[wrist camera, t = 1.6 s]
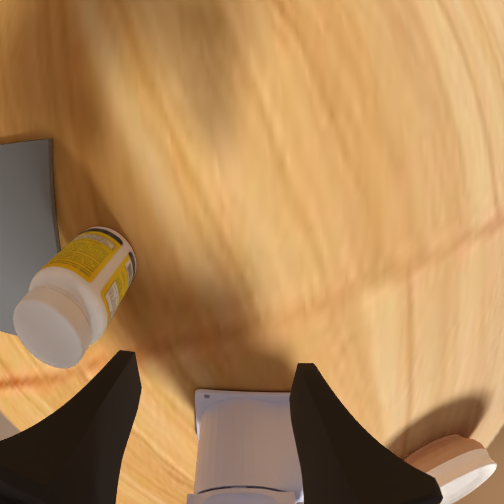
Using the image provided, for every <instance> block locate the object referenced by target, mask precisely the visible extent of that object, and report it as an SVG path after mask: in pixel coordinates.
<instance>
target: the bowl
mask: <svg viewBox="0 0 504 504" xmlns="http://www.w3.org/2000/svg"><path fill="white" fill-rule="evenodd" d="M403 461H405V462H407V463H408V464H410V465H411V466H413V467H415V468H417V469H419V470H421V471H423V472H425V473H427V474H429V475H431V476H433V477H435V479H436V481H437V483H438V485H439V487H440V490H441V493H442V496H443V500H442V502H441V503H440V504H452V503H454V502H456V501H458V500H460V499H461V498H463V497H464V496H466V495H467V494H469V493H470V492H472V491H473V490H475V489H476V488H477V487H479V486H480V485H481V484H482V483H483V482H484V481H486V480H487V479H488V478H489V477H490V476H491V475H492V473H493V472H494V471H495V469H496V466H497V463H495V462H494V461H492V460H491V459H490V457H489V454H488V452H487V450H486V449H485V448H484V447H483V446H482V444H481V443H479V442H477V441H475V440H473V439H469V438H464V437H461V436H460V435H458V434H453V435H448V436H445V437H442V438H440V439H437V440H435V441H433V442H431V443H429V444H427V445H425V446H423V447H421V448H420V449H418V450H417V451H415V452H414V453H412V454H411V455H409V456H408V457H407V458H406V459H405V460H403Z"/></svg>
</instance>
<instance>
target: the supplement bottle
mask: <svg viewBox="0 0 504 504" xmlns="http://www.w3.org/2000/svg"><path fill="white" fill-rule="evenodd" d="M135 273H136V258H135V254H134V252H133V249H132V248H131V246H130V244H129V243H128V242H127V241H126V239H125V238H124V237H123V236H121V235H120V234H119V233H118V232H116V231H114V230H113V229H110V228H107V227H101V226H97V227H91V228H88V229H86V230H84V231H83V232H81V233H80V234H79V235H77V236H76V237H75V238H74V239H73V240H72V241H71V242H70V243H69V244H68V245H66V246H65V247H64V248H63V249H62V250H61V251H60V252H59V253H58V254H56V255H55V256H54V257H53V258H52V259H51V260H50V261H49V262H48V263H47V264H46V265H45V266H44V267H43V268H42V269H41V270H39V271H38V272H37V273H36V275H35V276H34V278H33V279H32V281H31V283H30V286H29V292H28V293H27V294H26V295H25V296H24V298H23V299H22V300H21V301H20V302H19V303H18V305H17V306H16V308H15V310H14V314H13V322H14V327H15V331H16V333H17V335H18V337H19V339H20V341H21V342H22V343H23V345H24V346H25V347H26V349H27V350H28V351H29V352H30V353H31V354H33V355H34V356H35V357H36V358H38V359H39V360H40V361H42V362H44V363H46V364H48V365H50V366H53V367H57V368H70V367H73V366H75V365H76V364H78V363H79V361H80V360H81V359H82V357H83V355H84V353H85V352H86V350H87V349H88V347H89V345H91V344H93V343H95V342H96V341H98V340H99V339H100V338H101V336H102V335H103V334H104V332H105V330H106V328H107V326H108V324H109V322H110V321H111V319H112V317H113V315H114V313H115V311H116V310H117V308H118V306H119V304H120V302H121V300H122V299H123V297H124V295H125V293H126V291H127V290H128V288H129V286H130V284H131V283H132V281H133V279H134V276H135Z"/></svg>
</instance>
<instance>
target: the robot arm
mask: <svg viewBox="0 0 504 504" xmlns="http://www.w3.org/2000/svg"><path fill="white" fill-rule="evenodd" d="M141 389H142V387H141V382H140V377H139V372H138V367H137V361H136V356H135V352H130V351H123V350H120V351H118V352H117V353H116V355H115V356H114V357H113V358H112V359H111V360H110V361H109V362H108V363H107V364H106V365H105V366H104V368H103V369H102V370H101V371H100V372H99V373H98V374H97V375H96V376H95V377H94V378H93V379H92V380H91V381H90V382H89V383H88V384H87V385H86V386H85V387H84V388H83V389H82V390H80V391H79V392H78V393H77V394H76V395H75V396H74V397H73V398H72V399H71V400H69V401H68V402H67V403H66V404H64V405H63V406H62V407H61V408H59V409H58V410H57V411H55V412H54V413H53V414H51V415H50V416H48V417H47V418H45V419H43V420H42V421H40V422H39V423H37V424H35V425H34V426H32V427H30V428H28V429H26V430H24V431H22V432H20V433H19V434H16V435H14V436H12V437H9V438H7V439H4V440H1V441H0V504H116V494H117V486H118V479H119V473H120V467H121V462H122V458H123V454H124V451H125V447H126V444H127V441H128V438H129V435H130V432H131V429H132V425H133V422H134V419H135V416H136V413H137V410H138V405H139V400H140V394H141ZM206 394H207V395H206ZM195 409H196V425H197V439H198V451H197V462H196V474H195V485H194V494H187V504H440V503H441V502H442V500H443V496H442V493H441V490H440V487H439V485H438V483H437V481H436V479H435V477H433V476H431V475H429V474H427V473H425V472H423V471H421V470H419V469H417V468H415V467H413V466H411V465H410V464H408V463H407V462H405V461H403V460H402V459H400V458H399V457H397V456H396V455H395V454H393V453H392V452H391V451H389V450H388V449H387V448H385V447H384V446H383V445H382V444H380V443H379V442H378V441H377V440H376V439H375V438H373V437H372V436H371V435H370V434H369V433H368V432H367V431H366V430H365V429H364V428H363V427H362V426H361V425H360V424H359V423H358V422H357V421H356V420H355V418H354V417H353V416H352V415H351V414H350V413H349V411H348V410H347V409H346V408H345V407H344V405H343V404H342V403H341V401H340V400H339V399H338V398H337V396H336V395H335V394H334V392H333V391H332V390H331V388H330V387H329V385H328V384H327V382H326V381H325V379H324V378H323V376H322V375H321V373H320V372H319V370H318V369H317V367H316V366H315V364H314V363H298V365H297V369H296V373H295V377H294V381H293V385H292V389H291V392H240V391H221V390H207V389H198V390H196V391H195Z"/></svg>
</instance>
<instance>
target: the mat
mask: <svg viewBox="0 0 504 504" xmlns="http://www.w3.org/2000/svg"><path fill="white" fill-rule="evenodd" d="M60 251H61V249H60V242H59V235H58V227H57V218H56V208H55V196H54V182H53V161H52V139H43V140H33V141H25V142H16V143H9V144H2V145H0V331H2V332H6V333H9V334H13V335H17V333H16V331H15V327H14V322H13V314H14V310H15V308H16V306H17V305H18V303H19V302H20V301H21V300H22V299H23V298H24V296H25V295H26V294H27V293H28V292H29V286H30V283H31V281H32V279H33V278H34V276H35V275H36V273H37V272H38V271H39V270H41V269H42V268H43V267H44V266H45V265H46V264H47V263H48V262H49V261H50V260H51V259H52V258H53V257H54V256H55V255H56V254H58V253H59V252H60ZM17 336H18V335H17Z"/></svg>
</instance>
